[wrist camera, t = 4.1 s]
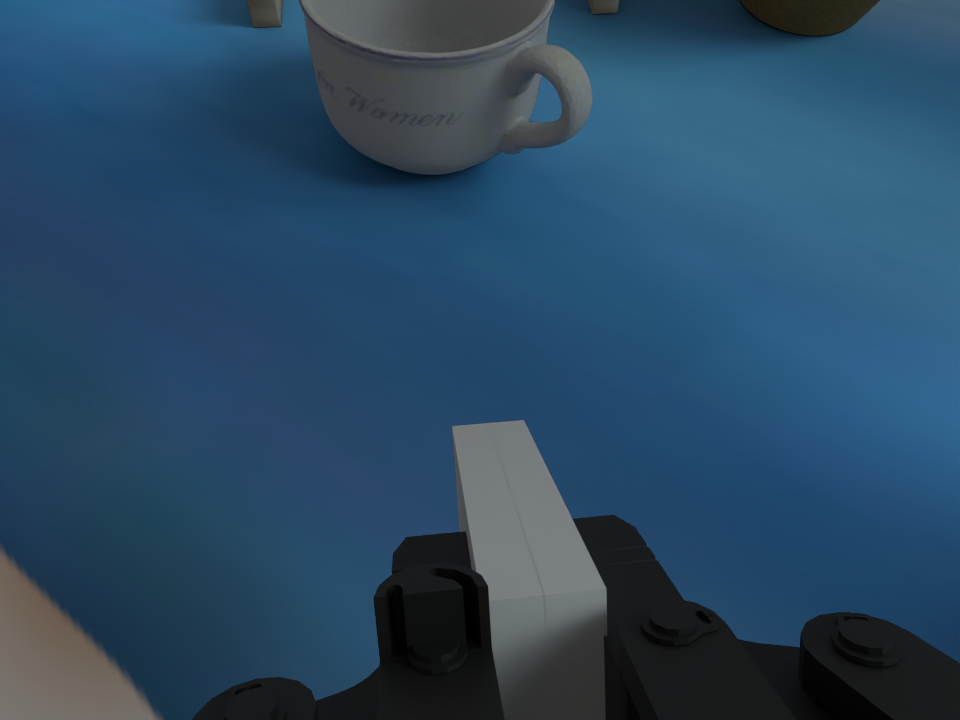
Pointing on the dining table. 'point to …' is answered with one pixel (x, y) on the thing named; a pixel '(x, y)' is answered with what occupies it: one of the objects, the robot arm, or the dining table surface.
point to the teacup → (441, 78)
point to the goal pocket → (268, 4)
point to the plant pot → (810, 14)
